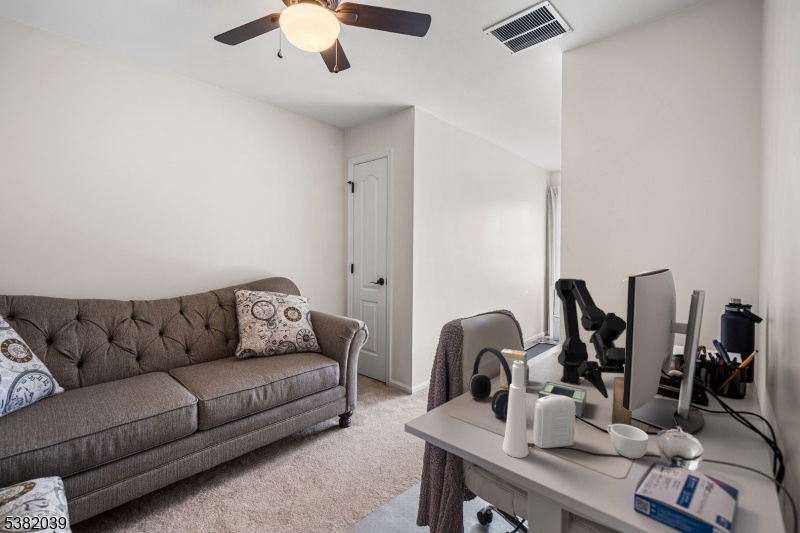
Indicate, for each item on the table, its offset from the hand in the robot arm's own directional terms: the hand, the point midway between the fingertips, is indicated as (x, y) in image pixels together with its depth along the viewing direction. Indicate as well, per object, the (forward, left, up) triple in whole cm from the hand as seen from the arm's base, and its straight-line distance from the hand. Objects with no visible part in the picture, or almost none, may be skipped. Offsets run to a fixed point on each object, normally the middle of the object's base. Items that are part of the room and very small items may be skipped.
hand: (623, 398), depth 99 cm
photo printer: (+21, -14, -8) cm, 27 cm away
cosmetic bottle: (+30, -21, -8) cm, 38 cm away
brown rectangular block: (-1, 0, -8) cm, 8 cm away
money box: (-5, -16, -8) cm, 19 cm away
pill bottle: (-17, -32, -8) cm, 37 cm away
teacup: (+14, +1, -8) cm, 17 cm away
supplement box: (-10, -33, -8) cm, 36 cm away
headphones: (+10, -34, -8) cm, 37 cm away
